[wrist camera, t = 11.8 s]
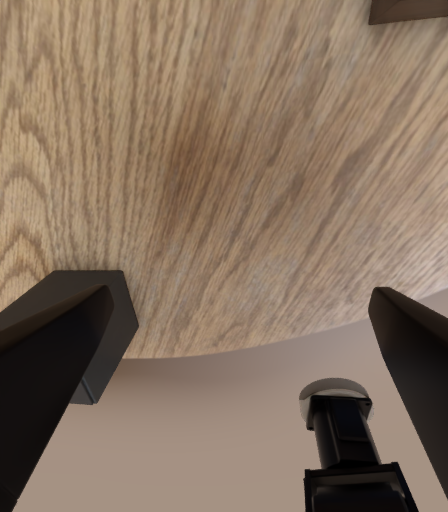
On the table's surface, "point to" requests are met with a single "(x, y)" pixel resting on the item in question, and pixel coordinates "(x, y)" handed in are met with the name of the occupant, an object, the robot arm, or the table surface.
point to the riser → (116, 333)
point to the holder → (406, 10)
